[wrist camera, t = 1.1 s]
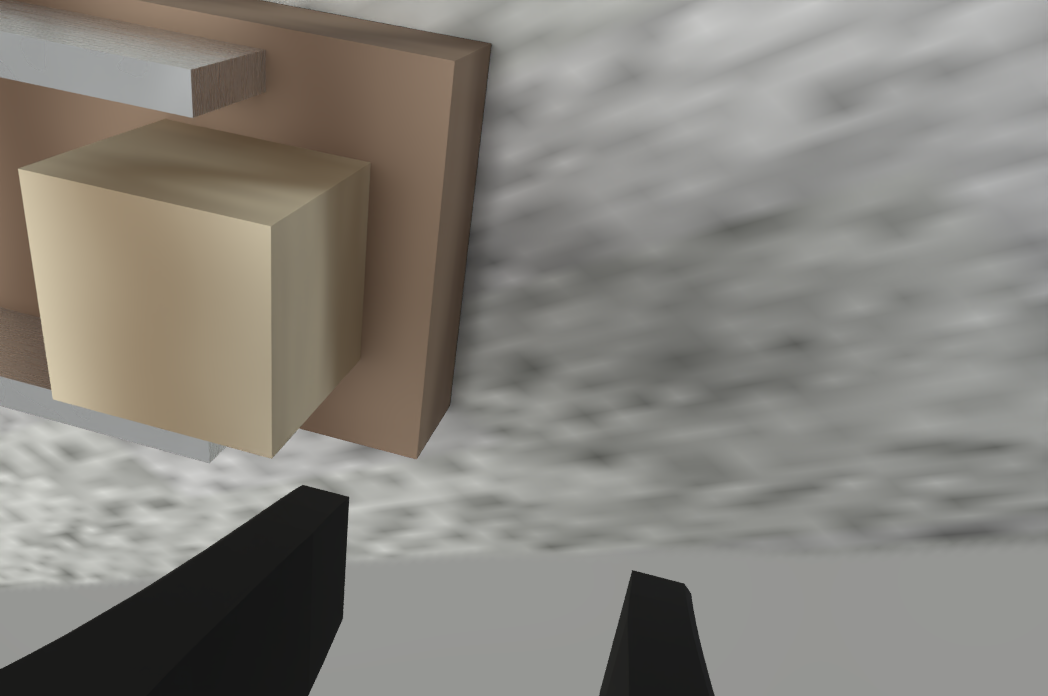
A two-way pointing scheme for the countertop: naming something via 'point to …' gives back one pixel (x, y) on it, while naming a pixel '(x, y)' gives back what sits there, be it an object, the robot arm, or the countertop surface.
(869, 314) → the countertop surface
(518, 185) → the countertop surface
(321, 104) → the board
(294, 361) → the maple block
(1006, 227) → the countertop surface
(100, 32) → the channel walls
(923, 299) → the countertop surface
